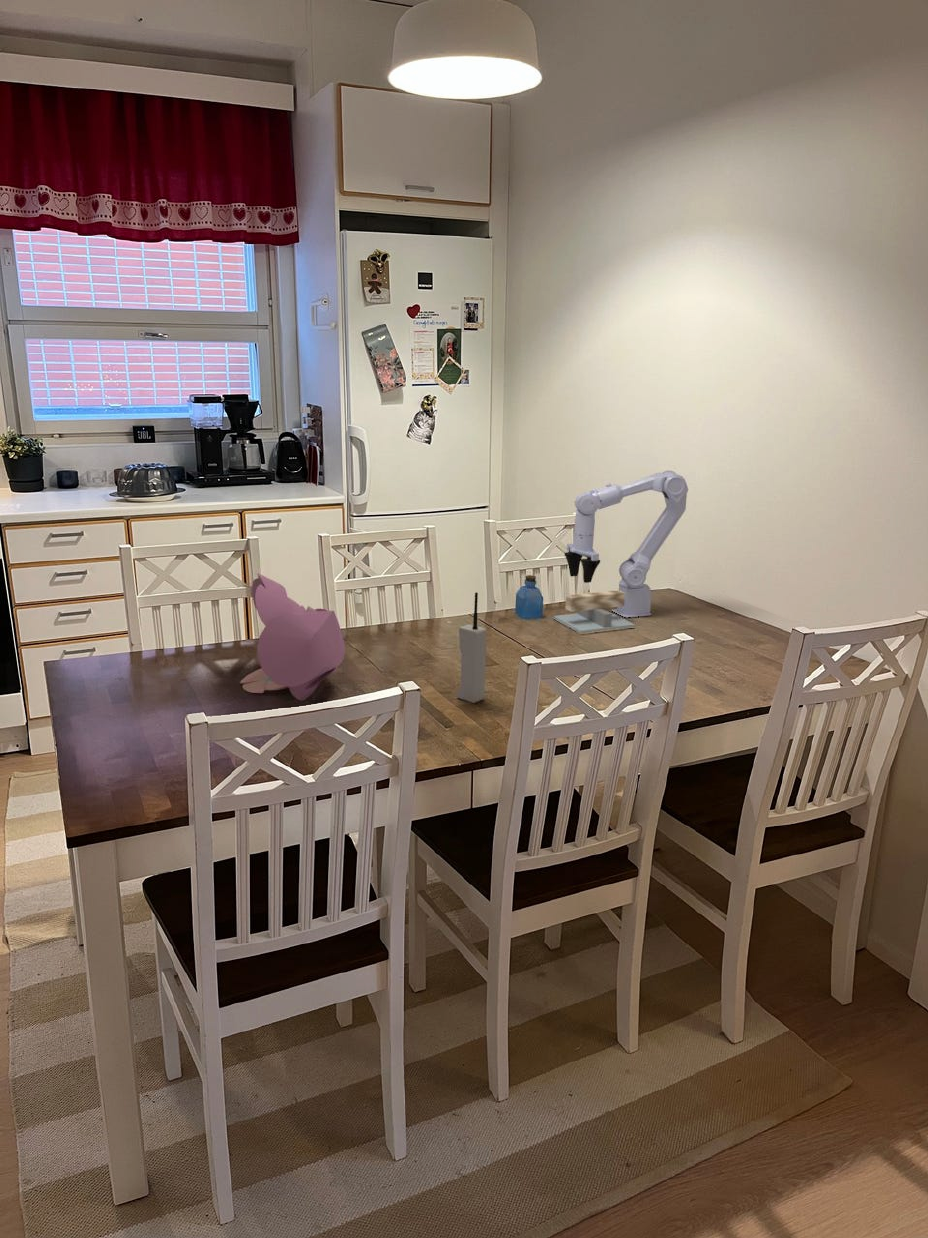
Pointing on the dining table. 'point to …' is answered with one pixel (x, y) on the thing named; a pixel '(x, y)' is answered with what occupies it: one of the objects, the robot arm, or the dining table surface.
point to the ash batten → (595, 600)
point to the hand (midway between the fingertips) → (580, 579)
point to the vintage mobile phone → (472, 660)
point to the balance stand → (593, 621)
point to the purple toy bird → (292, 643)
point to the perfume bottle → (529, 600)
